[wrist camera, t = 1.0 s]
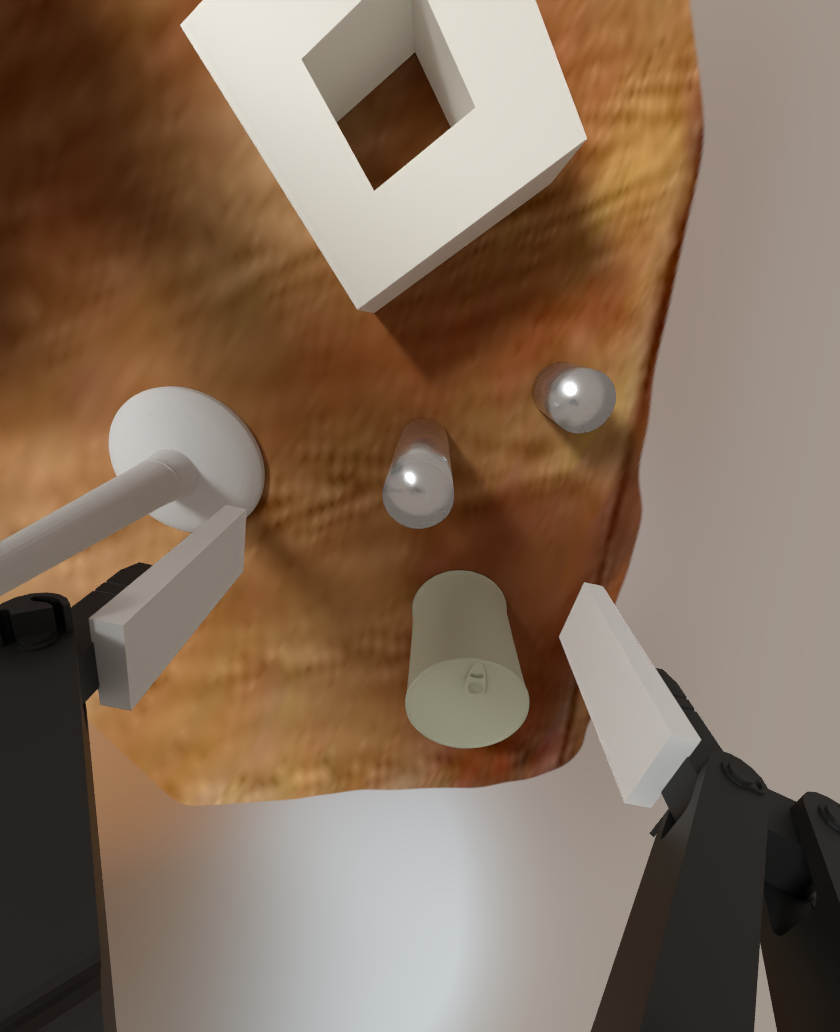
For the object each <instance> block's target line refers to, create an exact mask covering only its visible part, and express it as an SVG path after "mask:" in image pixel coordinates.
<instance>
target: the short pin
mask: <svg viewBox="0 0 840 1032" xmlns="http://www.w3.org/2000/svg"><path fill="white" fill-rule="evenodd" d="M532 396H533V401H534V403H535V405H536V406H537V408H538V409H539V410H540V411H542V412H543V413H544V414H545V415H547V416H548V417H549V418H550V419H551V420H553V421H554V422H555V423H556V424H558V425H559V426H560V427H561V428H563V429H564V430H566V431H568V432H572V433H586V432H590V431H592V430H594V429H596V428H598V427H600V426H601V425H602V424H603V423H604V422H605V421H606V420H607V419H608V418H609V416H610V415H611V413H612V411H613V409H614V406H615V401H616V392H615V388H614V385H613V383H612V381H611V380H610V378H609V377H608V376H607V375H605V374H604V373H602V372H600V371H597V370H594V369H590V368H586V367H582V366H579V365H575V364H571V363H567V362H557V363H553V364H551V365H549V366H547V367H546V368H544V369H543V370H542V371H541V372H540V373H539V374H538V376H537V377H536V379H535V381H534V384H533V389H532Z"/></svg>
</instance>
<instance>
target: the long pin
mask: <svg viewBox="0 0 840 1032" xmlns="http://www.w3.org/2000/svg"><path fill="white" fill-rule="evenodd" d="M453 502H454V488H453V479H452V469H451V460H450V451H449V442H448V435H447V433H446V431H445V429H444V427H443V426H442V425H441V424H440V423H439V422H437V421H435V420H433V419H430V418H418V419H415V420H412V421H411V422H409V423H408V424H407V425H406V426H405V427H404V429H403V430H402V432H401V435H400V438H399V441H398V444H397V447H396V450H395V453H394V456H393V459H392V462H391V465H390V468H389V471H388V474H387V477H386V481H385V484H384V487H383V503H384V506H385V508H386V510H387V512H388V513H389V515H390V516H391V517H392V518H393V519H394V520H395V521H397V522H398V523H400V524H402V525H404V526H406V527H410V528H416V529H422V528H428V527H431V526H434V525H436V524H438V523H439V522H441V521H442V520H443V519H444V518H445V517H446V516H447V515H448V514H449V512H450V510H451V508H452V506H453Z"/></svg>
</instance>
